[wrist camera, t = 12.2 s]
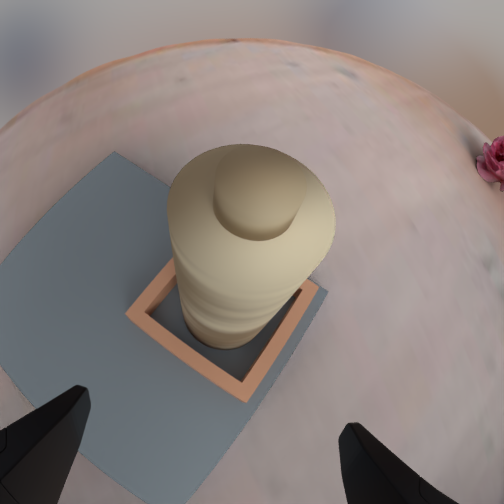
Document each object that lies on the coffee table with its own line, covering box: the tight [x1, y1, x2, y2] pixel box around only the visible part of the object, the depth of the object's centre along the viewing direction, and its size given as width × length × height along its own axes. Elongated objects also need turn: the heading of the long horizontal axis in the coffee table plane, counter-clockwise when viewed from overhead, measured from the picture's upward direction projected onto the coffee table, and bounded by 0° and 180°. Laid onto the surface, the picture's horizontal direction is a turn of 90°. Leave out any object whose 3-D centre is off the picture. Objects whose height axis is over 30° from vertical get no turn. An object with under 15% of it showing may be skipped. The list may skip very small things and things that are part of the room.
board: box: [0, 152, 328, 504], centre depth 17 cm, size 20×18×2 cm
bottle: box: [167, 144, 335, 350], centre depth 13 cm, size 5×5×12 cm
